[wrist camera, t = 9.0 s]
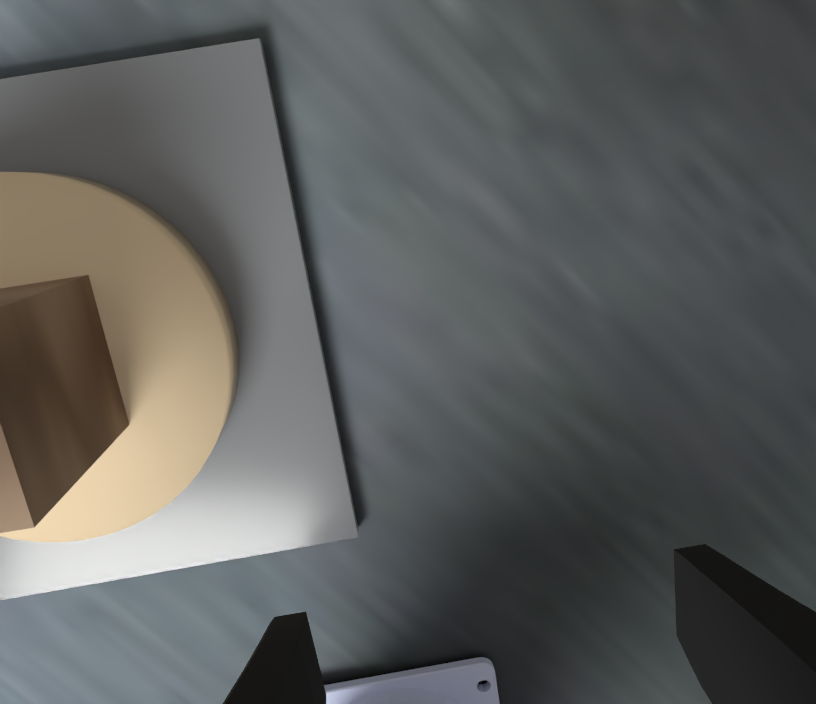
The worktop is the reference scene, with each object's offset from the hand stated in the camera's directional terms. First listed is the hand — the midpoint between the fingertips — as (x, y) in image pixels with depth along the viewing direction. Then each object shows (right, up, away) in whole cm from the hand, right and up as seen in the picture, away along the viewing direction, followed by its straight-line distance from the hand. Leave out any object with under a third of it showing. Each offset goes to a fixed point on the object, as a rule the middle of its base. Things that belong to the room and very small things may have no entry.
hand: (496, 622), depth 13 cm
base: (-13, +5, +9) cm, 16 cm away
